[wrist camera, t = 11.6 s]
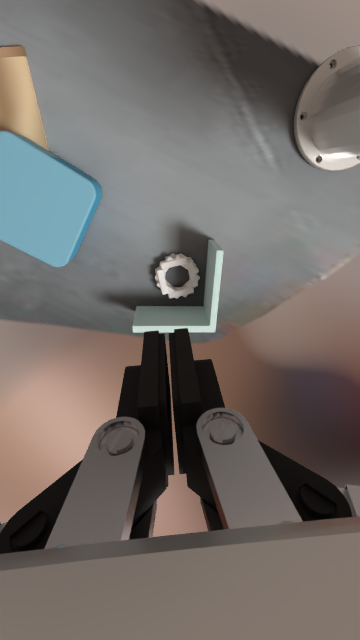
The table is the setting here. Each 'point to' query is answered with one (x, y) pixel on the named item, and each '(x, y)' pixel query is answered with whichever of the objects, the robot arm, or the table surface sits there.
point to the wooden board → (19, 97)
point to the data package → (43, 201)
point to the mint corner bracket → (184, 315)
